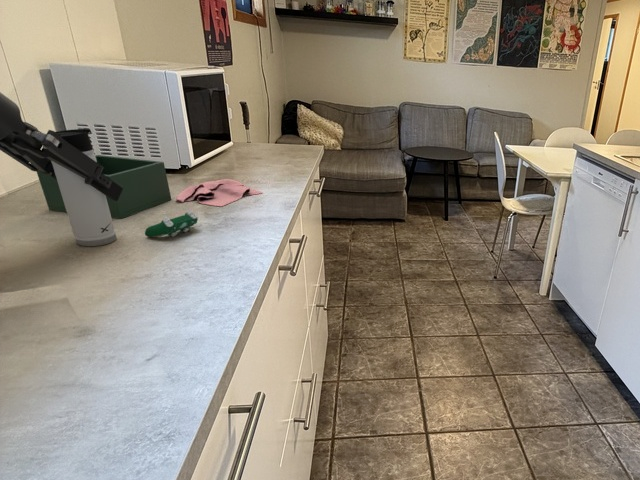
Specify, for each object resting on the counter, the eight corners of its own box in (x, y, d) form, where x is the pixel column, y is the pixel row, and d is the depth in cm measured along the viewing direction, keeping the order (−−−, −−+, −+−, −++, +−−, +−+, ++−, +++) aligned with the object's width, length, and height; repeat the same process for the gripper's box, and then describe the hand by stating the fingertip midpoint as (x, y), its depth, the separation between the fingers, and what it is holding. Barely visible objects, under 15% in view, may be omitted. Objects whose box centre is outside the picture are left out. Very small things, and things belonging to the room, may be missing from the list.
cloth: (237, 180, 134) (236, 172, 132) (274, 198, 120) (273, 189, 119) (158, 190, 120) (155, 180, 119) (189, 211, 107) (187, 201, 106)
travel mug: (119, 243, 88) (90, 131, 79) (76, 248, 85) (40, 132, 75) (118, 233, 93) (90, 126, 83) (76, 237, 89) (42, 126, 80)
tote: (49, 210, 102) (35, 168, 97) (108, 192, 116) (97, 154, 112) (120, 219, 100) (109, 176, 96) (171, 199, 114) (163, 161, 110)
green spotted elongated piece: (154, 248, 92) (167, 231, 89) (141, 232, 91) (153, 215, 88) (193, 234, 99) (205, 218, 96) (180, 220, 99) (193, 203, 96)
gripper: (-97, 119, 67) (50, 203, 88) (14, 133, 63) (138, 216, 85) (-69, 77, 69) (68, 169, 91) (39, 89, 66) (155, 181, 87)
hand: (102, 192), depth 88 cm, fingers closed on travel mug, 6 cm apart
